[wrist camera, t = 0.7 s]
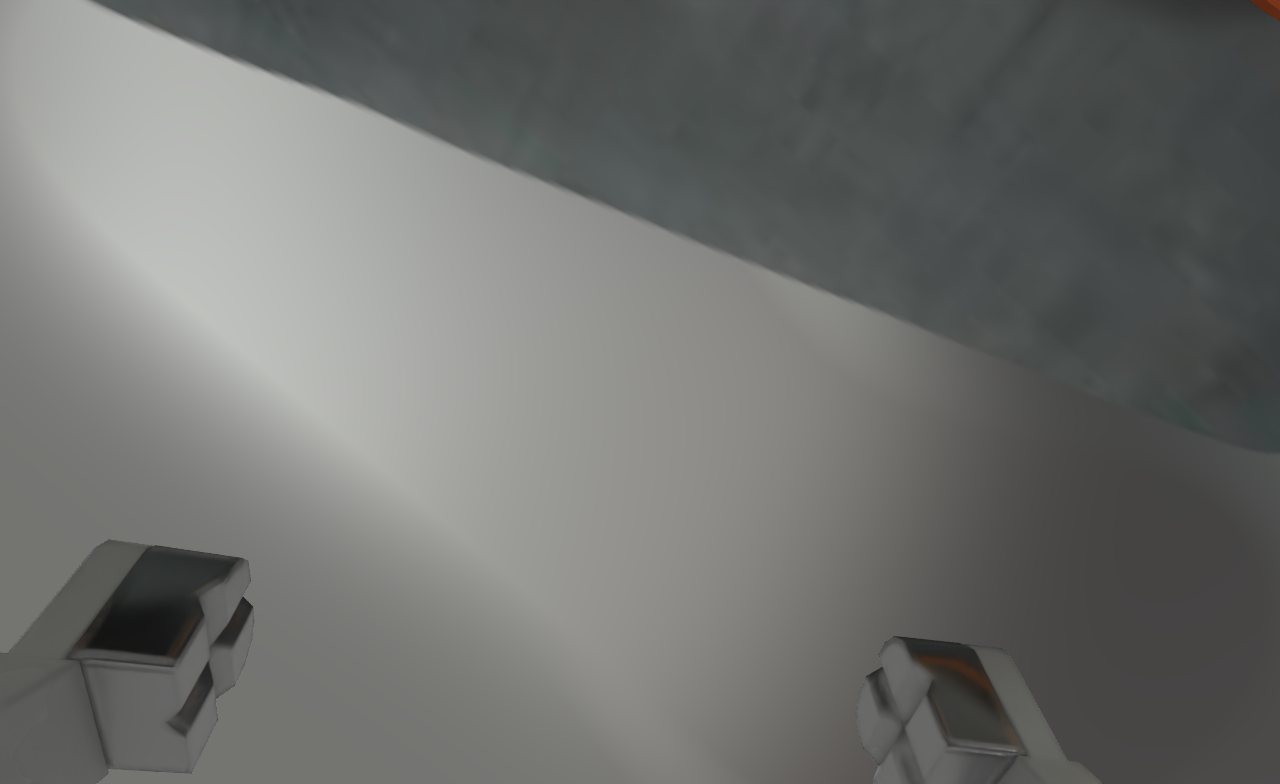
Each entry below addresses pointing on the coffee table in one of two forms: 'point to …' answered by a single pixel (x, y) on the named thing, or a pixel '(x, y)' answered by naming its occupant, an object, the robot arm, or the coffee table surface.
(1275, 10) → the headphones
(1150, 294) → the coffee table surface
